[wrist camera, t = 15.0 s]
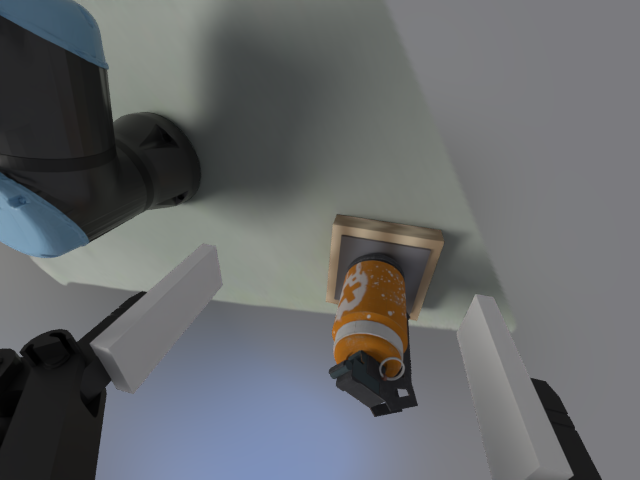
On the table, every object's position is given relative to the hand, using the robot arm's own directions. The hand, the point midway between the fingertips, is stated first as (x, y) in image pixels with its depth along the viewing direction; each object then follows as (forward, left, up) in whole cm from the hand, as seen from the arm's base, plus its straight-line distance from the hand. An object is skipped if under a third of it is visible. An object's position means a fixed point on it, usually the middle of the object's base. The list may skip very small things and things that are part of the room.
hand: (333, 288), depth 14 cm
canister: (+4, -18, -25) cm, 31 cm away
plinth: (+4, -18, -29) cm, 34 cm away
